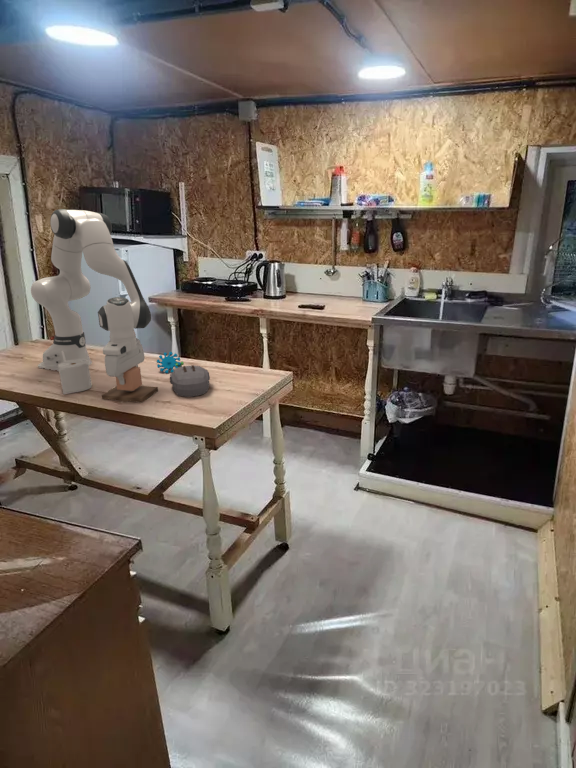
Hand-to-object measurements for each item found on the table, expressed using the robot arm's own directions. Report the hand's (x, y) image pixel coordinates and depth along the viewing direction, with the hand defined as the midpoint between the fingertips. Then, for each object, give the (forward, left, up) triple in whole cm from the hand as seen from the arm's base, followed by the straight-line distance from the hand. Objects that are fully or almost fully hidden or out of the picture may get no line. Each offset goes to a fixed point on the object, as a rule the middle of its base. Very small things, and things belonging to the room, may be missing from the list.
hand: (128, 380), depth 180 cm
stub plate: (0, 0, -6) cm, 6 cm away
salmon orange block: (0, 0, -3) cm, 3 cm away
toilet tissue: (-24, +2, -6) cm, 25 cm away
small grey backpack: (+20, +10, -6) cm, 23 cm away
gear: (+2, +29, -6) cm, 30 cm away
